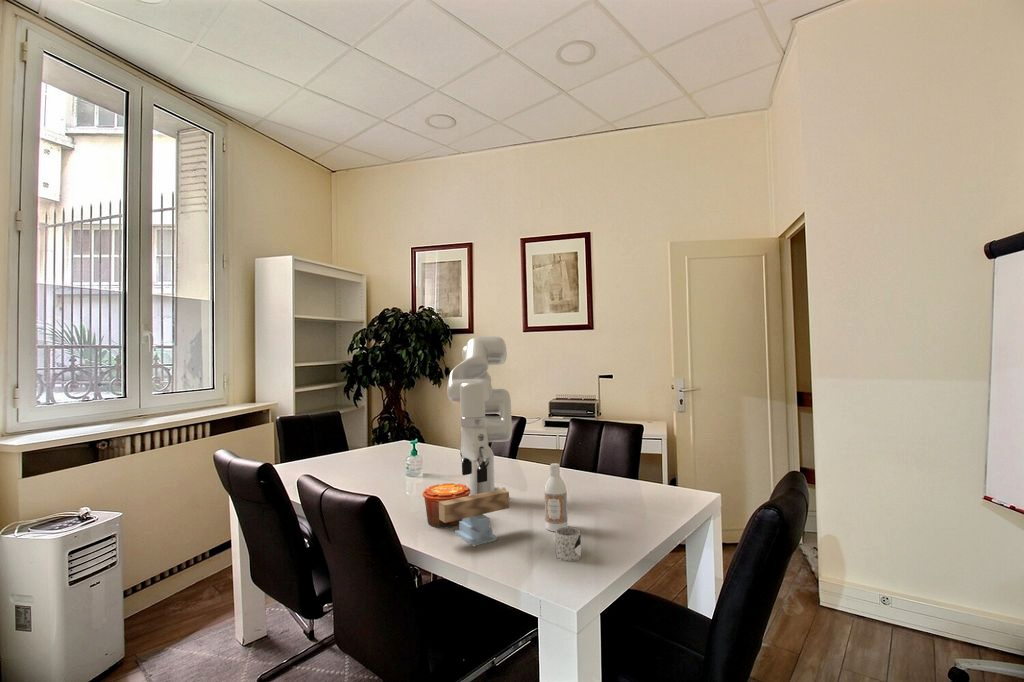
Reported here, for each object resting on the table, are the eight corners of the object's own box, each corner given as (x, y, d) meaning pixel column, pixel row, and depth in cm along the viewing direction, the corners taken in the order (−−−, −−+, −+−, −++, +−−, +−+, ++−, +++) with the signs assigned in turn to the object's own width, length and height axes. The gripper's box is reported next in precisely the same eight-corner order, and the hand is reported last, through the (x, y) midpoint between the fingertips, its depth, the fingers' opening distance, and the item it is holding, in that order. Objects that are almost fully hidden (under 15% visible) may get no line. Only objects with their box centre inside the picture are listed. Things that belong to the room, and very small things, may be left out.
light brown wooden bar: (502, 504, 152) (502, 489, 152) (509, 507, 149) (508, 491, 149) (439, 519, 140) (438, 502, 140) (444, 522, 137) (444, 505, 137)
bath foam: (543, 531, 147) (541, 466, 148) (548, 523, 154) (546, 461, 155) (565, 533, 145) (563, 467, 146) (569, 525, 152) (567, 462, 153)
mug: (580, 562, 125) (580, 536, 125) (555, 561, 126) (554, 535, 126) (581, 546, 135) (580, 523, 135) (558, 546, 136) (557, 522, 136)
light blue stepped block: (477, 528, 151) (477, 506, 152) (497, 539, 141) (496, 516, 142) (455, 533, 147) (454, 511, 147) (473, 546, 137) (472, 521, 137)
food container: (469, 511, 168) (468, 481, 168) (473, 527, 152) (472, 493, 153) (423, 515, 165) (422, 484, 166) (422, 532, 150) (422, 497, 150)
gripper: (498, 424, 140) (499, 482, 140) (470, 417, 155) (472, 469, 155) (475, 427, 136) (477, 487, 136) (449, 419, 151) (451, 473, 151)
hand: (474, 478), depth 145 cm, fingers open, 9 cm apart
